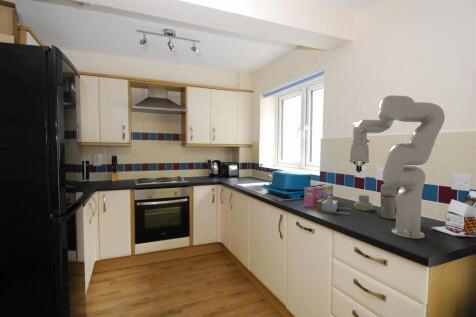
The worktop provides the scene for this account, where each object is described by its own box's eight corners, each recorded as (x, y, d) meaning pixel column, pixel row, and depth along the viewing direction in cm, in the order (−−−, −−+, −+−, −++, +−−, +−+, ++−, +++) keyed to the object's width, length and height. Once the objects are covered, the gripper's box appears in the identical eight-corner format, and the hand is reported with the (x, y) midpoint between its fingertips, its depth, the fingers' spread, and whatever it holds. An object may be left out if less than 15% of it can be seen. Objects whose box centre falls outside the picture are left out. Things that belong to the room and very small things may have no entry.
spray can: (392, 220, 141) (393, 184, 140) (377, 216, 147) (378, 182, 147) (399, 218, 145) (400, 183, 144) (384, 214, 152) (385, 181, 151)
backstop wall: (320, 211, 154) (320, 201, 154) (316, 211, 155) (316, 201, 155) (324, 206, 168) (324, 197, 167) (320, 206, 169) (320, 197, 168)
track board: (350, 216, 147) (350, 213, 147) (316, 212, 155) (316, 209, 155) (351, 211, 160) (351, 208, 160) (320, 207, 169) (320, 204, 169)
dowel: (331, 212, 154) (331, 197, 153) (326, 211, 155) (326, 196, 155) (332, 211, 156) (332, 196, 156) (327, 210, 158) (327, 195, 158)
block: (335, 212, 152) (335, 204, 152) (321, 211, 156) (321, 202, 155) (337, 208, 163) (337, 200, 162) (324, 207, 166) (324, 199, 166)
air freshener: (375, 211, 160) (375, 195, 160) (369, 213, 155) (369, 197, 155) (358, 208, 169) (358, 193, 168) (351, 210, 164) (352, 194, 163)
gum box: (324, 202, 187) (325, 183, 186) (334, 204, 180) (334, 185, 180) (303, 206, 172) (304, 186, 172) (313, 208, 166) (313, 188, 165)
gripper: (373, 142, 153) (372, 172, 154) (346, 142, 160) (345, 171, 161) (373, 141, 146) (372, 173, 147) (345, 142, 153) (344, 172, 154)
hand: (358, 172), depth 154 cm, fingers closed
